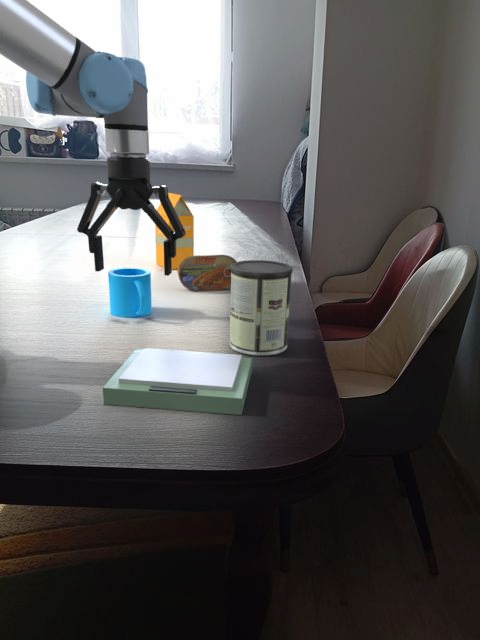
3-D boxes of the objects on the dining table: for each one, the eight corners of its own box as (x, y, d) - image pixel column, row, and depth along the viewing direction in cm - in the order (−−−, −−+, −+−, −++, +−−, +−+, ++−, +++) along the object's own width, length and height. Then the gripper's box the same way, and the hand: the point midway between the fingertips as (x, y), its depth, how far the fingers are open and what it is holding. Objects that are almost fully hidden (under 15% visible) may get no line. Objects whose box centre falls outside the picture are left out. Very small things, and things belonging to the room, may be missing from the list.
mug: (105, 308, 106) (102, 269, 103) (143, 304, 110) (142, 266, 107) (124, 325, 96) (122, 282, 94) (164, 320, 101) (164, 279, 98)
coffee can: (250, 332, 97) (253, 257, 92) (297, 344, 91) (304, 266, 86) (216, 346, 88) (218, 265, 83) (266, 361, 83) (271, 275, 78)
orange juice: (179, 262, 154) (179, 192, 147) (194, 267, 147) (194, 195, 140) (155, 263, 149) (153, 192, 142) (169, 270, 143) (168, 195, 136)
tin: (179, 292, 121) (179, 256, 118) (176, 288, 124) (176, 254, 121) (239, 289, 127) (241, 255, 124) (235, 286, 129) (236, 252, 126)
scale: (103, 404, 66) (102, 383, 65) (136, 363, 80) (135, 345, 78) (241, 415, 66) (242, 394, 65) (251, 372, 79) (252, 354, 78)
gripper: (200, 159, 96) (200, 271, 103) (69, 152, 97) (79, 264, 104) (192, 159, 89) (193, 280, 96) (51, 153, 90) (63, 272, 97)
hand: (133, 272), depth 100 cm, fingers open, 13 cm apart
